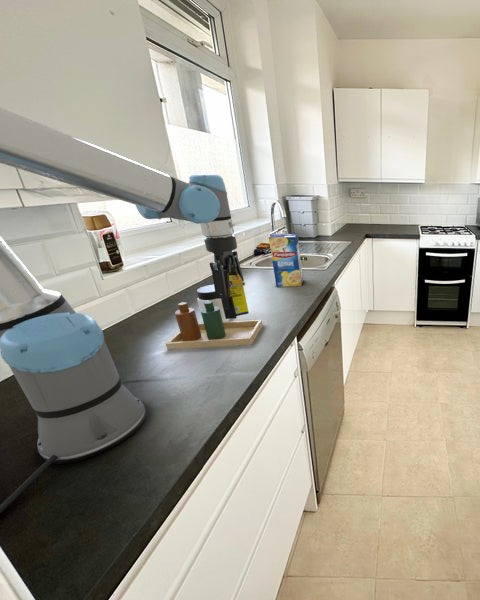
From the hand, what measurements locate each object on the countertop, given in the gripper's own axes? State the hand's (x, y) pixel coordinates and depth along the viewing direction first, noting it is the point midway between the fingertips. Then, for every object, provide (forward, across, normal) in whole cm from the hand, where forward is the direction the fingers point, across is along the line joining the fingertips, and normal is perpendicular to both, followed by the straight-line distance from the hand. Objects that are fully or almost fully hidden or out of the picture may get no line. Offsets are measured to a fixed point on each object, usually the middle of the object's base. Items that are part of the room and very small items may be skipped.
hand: (236, 312), depth 93 cm
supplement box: (0, 0, 0) cm, 0 cm away
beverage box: (+9, +50, -5) cm, 51 cm away
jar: (+9, +13, +12) cm, 19 cm away
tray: (+9, 0, +7) cm, 11 cm away
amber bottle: (+8, 0, +14) cm, 16 cm away
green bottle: (+8, 0, +7) cm, 11 cm away
